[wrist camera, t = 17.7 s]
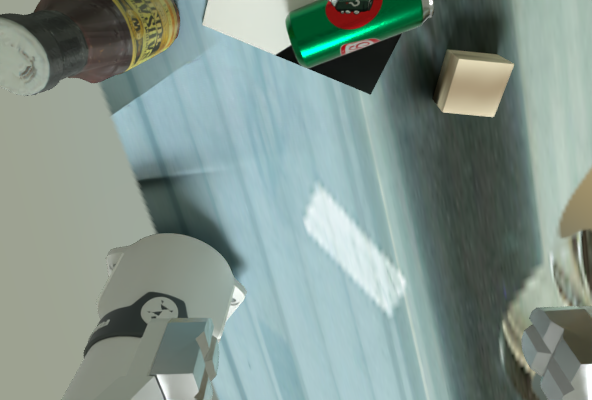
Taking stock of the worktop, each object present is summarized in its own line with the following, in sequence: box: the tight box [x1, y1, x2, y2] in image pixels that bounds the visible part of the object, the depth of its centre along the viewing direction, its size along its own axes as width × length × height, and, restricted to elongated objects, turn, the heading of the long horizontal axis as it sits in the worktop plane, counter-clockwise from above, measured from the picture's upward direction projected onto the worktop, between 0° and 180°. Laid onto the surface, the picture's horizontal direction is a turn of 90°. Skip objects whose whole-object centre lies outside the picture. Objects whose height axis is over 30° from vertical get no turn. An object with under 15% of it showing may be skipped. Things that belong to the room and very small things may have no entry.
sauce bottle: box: [0, 0, 180, 96], centre depth 29 cm, size 7×6×20 cm
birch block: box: [433, 49, 514, 117], centre depth 38 cm, size 5×5×4 cm
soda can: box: [285, 0, 434, 68], centre depth 34 cm, size 5×5×12 cm
